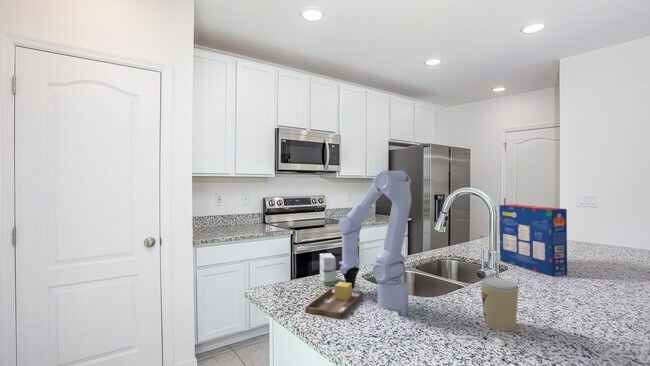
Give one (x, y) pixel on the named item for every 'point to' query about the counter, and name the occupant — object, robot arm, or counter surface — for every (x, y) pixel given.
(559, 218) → the blue cardboard box
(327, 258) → the ink box
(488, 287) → the coffee cup
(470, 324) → the counter surface
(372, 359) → the counter surface
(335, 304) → the wooden serving tray
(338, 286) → the block
